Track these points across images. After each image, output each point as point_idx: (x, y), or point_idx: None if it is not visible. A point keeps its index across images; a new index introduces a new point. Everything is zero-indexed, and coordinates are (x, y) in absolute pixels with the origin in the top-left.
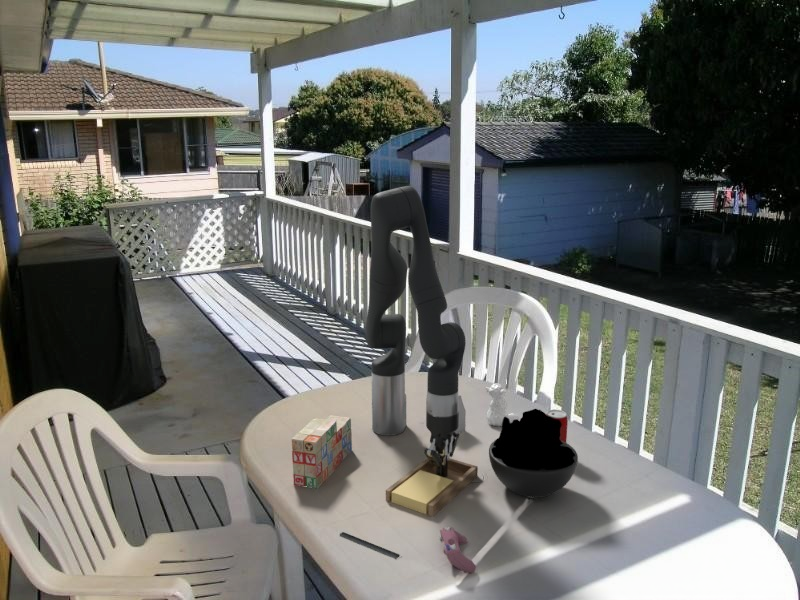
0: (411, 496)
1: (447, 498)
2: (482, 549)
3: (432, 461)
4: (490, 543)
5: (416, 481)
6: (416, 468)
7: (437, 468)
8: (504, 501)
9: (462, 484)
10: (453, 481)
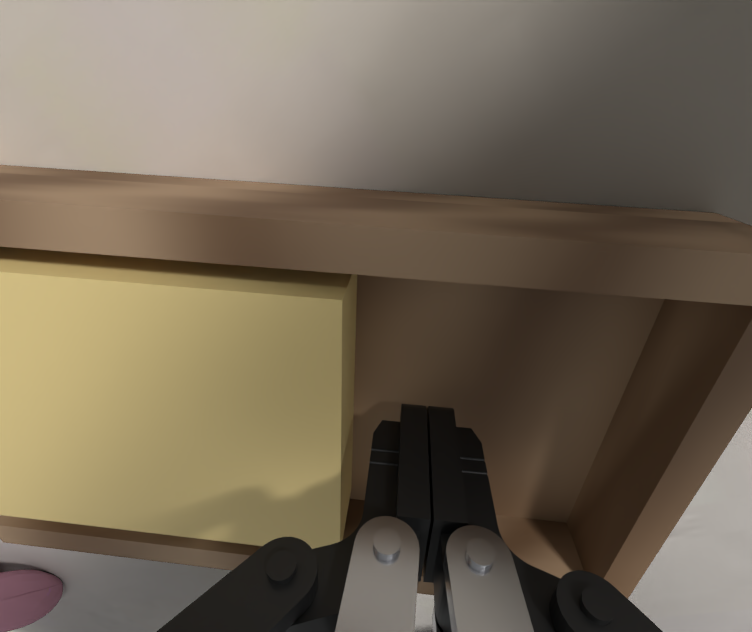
0: None
1: None
2: (96, 616)
3: (249, 594)
4: (141, 625)
5: (134, 363)
6: (352, 248)
7: (367, 493)
8: (419, 622)
9: None
10: None
